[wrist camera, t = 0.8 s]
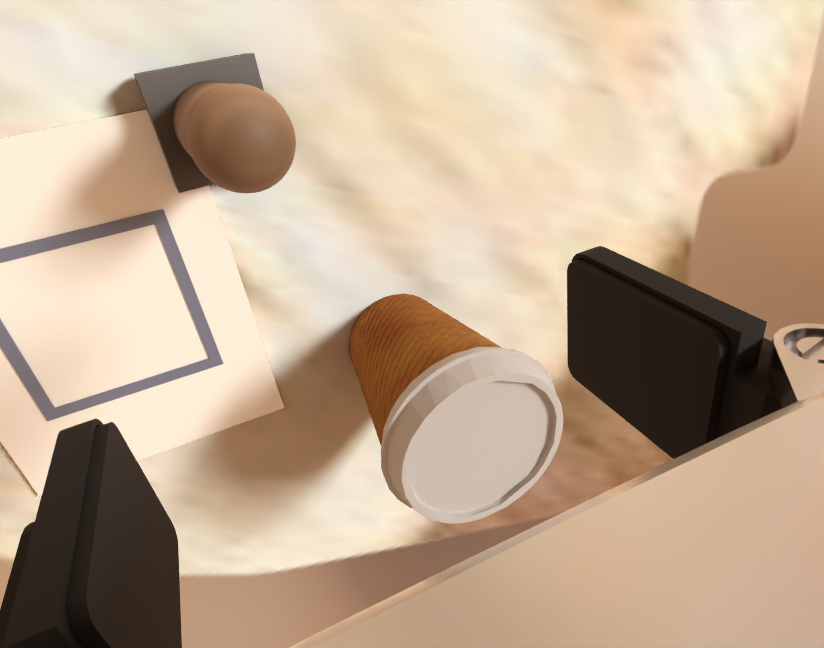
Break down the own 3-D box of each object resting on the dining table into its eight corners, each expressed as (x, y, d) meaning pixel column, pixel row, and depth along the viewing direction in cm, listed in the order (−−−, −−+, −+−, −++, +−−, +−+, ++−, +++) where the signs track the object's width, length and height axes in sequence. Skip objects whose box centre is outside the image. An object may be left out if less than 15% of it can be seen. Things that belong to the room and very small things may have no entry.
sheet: (-184, 173, 21) (-190, 176, 21) (181, 102, 25) (181, 103, 25) (39, 492, 30) (38, 497, 30) (283, 405, 34) (284, 408, 34)
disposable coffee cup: (332, 416, 36) (397, 556, 26) (314, 284, 31) (385, 394, 22) (460, 381, 39) (562, 495, 29) (461, 256, 34) (581, 341, 25)
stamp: (133, 73, 24) (149, 81, 16) (246, 53, 25) (306, 52, 18) (175, 186, 26) (205, 237, 19) (275, 161, 28) (338, 198, 20)
